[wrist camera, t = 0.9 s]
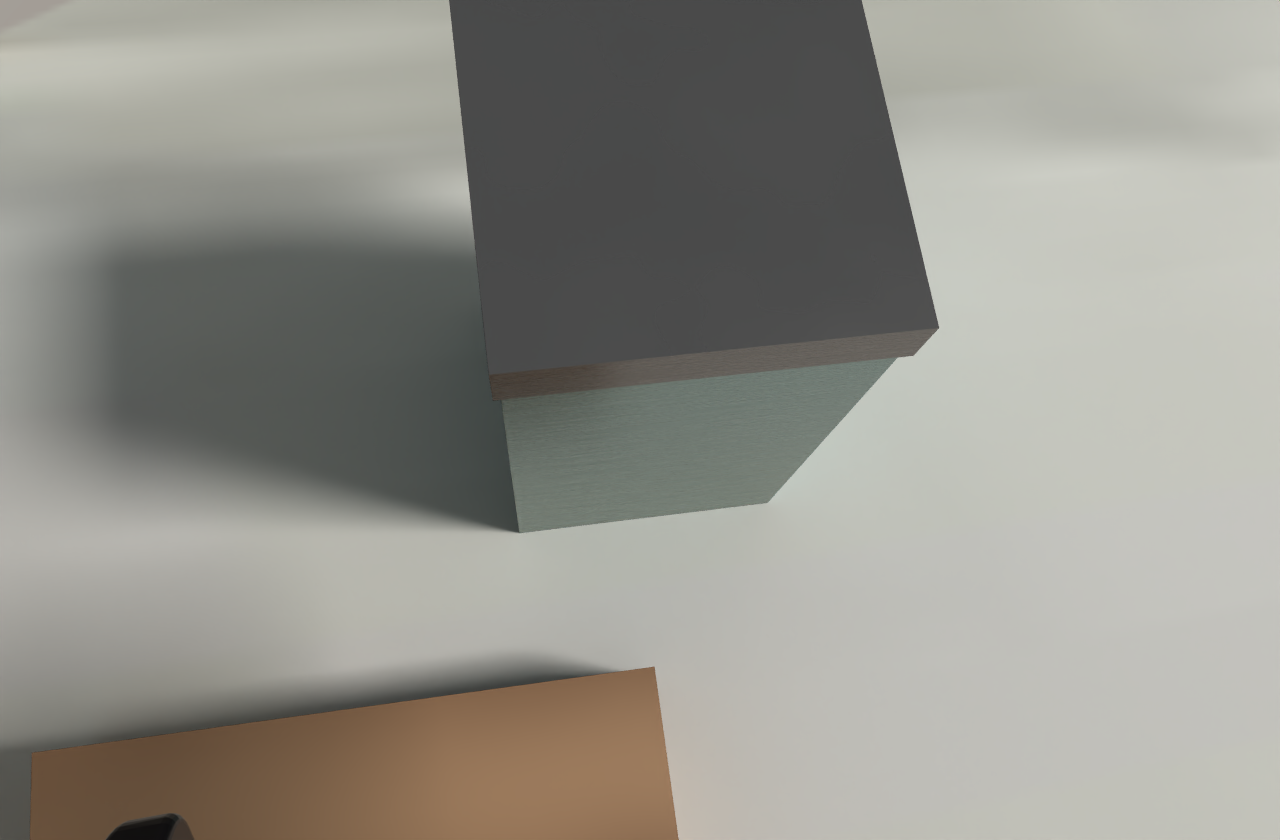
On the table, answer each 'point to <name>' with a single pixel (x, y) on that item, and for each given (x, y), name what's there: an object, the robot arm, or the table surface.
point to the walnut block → (389, 771)
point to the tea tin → (680, 243)
